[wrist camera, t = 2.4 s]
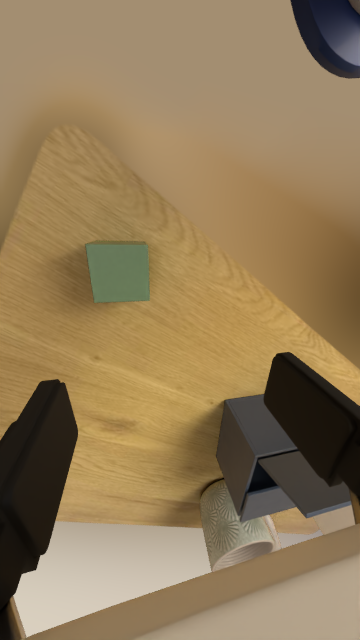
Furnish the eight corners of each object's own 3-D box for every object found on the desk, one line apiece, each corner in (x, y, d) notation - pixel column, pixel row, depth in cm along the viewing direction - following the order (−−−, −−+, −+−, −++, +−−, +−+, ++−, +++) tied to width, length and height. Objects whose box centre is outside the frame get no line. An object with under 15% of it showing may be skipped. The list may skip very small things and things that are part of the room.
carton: (224, 399, 34) (258, 462, 25) (291, 390, 37) (343, 443, 28) (215, 456, 40) (240, 523, 31) (273, 444, 43) (311, 502, 34)
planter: (184, 503, 45) (198, 578, 35) (216, 468, 42) (241, 540, 32) (224, 507, 50) (247, 574, 40) (256, 476, 47) (288, 540, 37)
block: (95, 240, 21) (84, 243, 16) (145, 241, 22) (148, 245, 17) (101, 288, 23) (94, 303, 18) (146, 287, 24) (149, 300, 19)
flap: (258, 462, 25) (258, 459, 25) (342, 444, 28) (342, 441, 28) (306, 518, 18) (306, 514, 18) (414, 486, 20) (414, 482, 20)
